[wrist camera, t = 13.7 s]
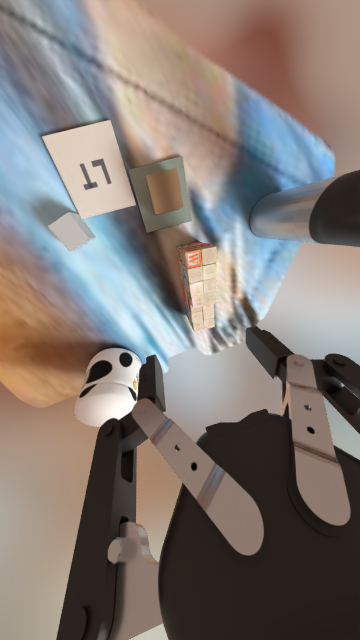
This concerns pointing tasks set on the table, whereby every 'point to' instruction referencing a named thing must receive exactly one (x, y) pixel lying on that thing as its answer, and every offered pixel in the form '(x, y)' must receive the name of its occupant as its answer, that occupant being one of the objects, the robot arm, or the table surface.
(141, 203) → the grey-green mat
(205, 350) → the table surface
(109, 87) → the table surface
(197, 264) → the stack of blocks
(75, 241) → the grey block
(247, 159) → the table surface
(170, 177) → the walnut block
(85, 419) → the milk container
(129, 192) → the tile
